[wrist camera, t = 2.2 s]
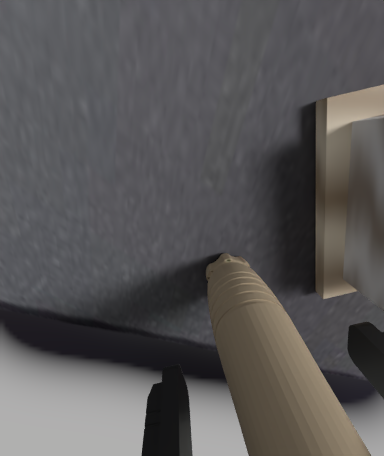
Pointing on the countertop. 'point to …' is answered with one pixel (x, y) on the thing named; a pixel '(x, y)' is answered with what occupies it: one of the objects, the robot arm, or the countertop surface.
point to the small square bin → (350, 195)
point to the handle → (273, 371)
